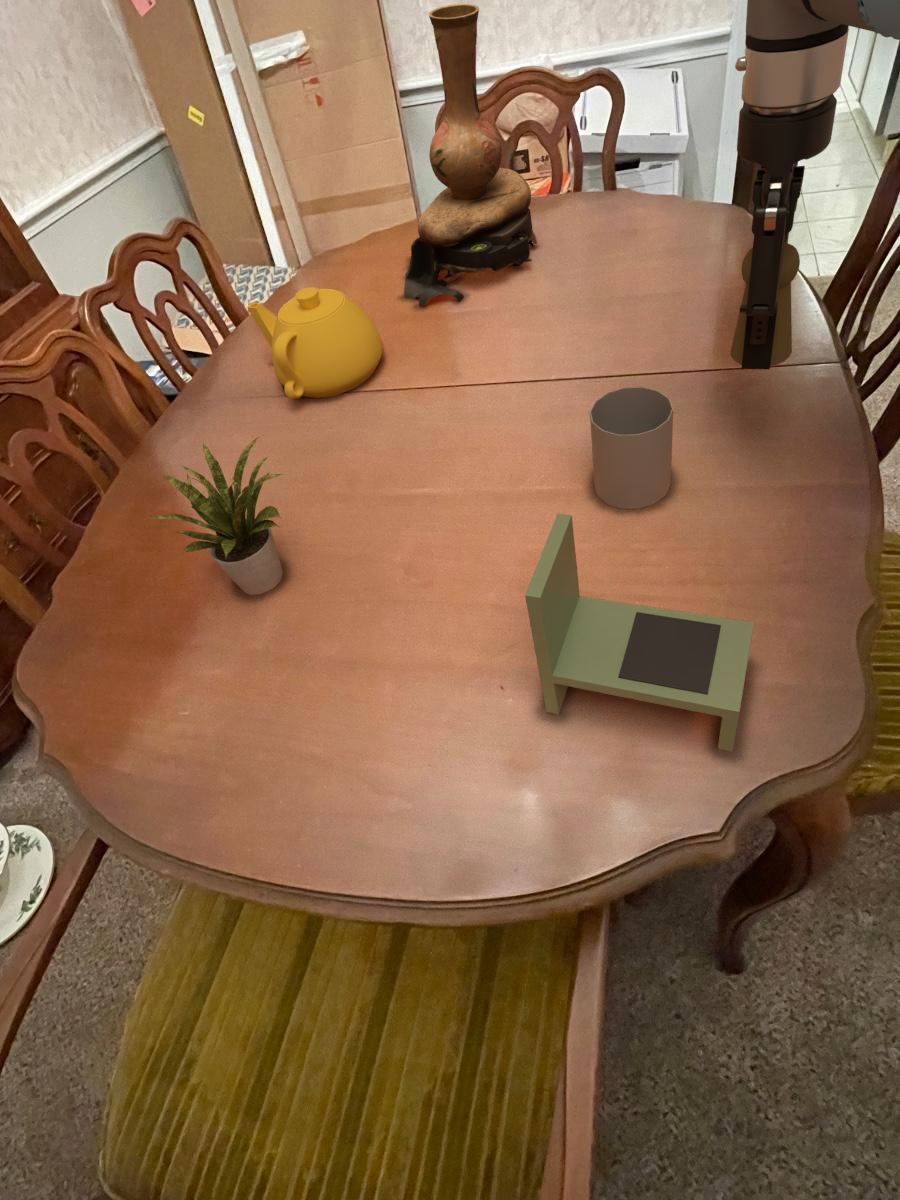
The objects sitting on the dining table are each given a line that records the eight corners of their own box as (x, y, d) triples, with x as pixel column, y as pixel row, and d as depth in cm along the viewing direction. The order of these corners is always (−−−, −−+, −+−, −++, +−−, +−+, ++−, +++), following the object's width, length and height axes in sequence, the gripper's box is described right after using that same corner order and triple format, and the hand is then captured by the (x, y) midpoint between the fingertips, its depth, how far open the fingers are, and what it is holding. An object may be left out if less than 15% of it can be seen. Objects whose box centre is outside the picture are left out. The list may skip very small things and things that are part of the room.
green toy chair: (746, 665, 67) (768, 536, 55) (732, 752, 62) (753, 631, 50) (571, 635, 73) (557, 513, 61) (546, 712, 68) (524, 595, 56)
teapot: (405, 346, 115) (384, 264, 106) (341, 420, 105) (311, 337, 96) (302, 335, 124) (274, 259, 114) (234, 403, 114) (197, 325, 105)
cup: (634, 519, 82) (633, 446, 74) (579, 488, 87) (573, 416, 79) (686, 478, 84) (690, 403, 77) (629, 451, 89) (628, 378, 82)
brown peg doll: (725, 341, 82) (732, 240, 74) (783, 332, 81) (797, 228, 73) (737, 371, 78) (746, 267, 70) (798, 362, 77) (815, 255, 69)
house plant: (337, 523, 91) (290, 410, 79) (324, 610, 82) (269, 497, 70) (226, 540, 93) (164, 432, 81) (202, 626, 84) (127, 519, 72)
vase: (537, 290, 119) (508, 20, 93) (401, 310, 123) (337, 57, 97) (537, 225, 134) (512, -23, 108) (416, 245, 138) (363, 11, 112)
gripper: (754, 66, 70) (734, 303, 86) (724, 147, 59) (708, 400, 75) (844, 56, 67) (806, 302, 83) (830, 138, 56) (789, 403, 73)
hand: (759, 348), depth 79 cm, fingers closed on brown peg doll, 6 cm apart
